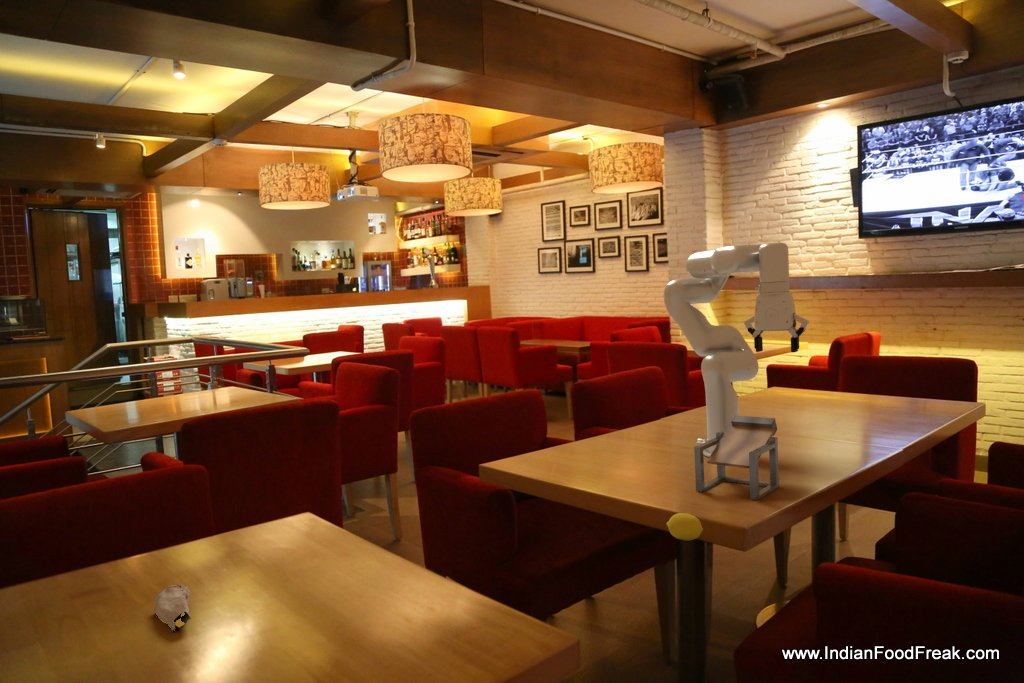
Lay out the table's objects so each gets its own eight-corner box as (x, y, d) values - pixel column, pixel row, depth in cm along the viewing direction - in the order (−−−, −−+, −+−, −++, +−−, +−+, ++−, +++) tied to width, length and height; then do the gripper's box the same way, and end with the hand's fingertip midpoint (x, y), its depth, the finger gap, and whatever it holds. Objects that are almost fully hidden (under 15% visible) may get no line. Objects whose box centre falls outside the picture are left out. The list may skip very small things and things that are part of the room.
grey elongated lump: (152, 610, 132) (150, 585, 131) (190, 602, 135) (189, 578, 134) (155, 641, 120) (153, 613, 119) (197, 631, 123) (195, 604, 122)
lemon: (660, 539, 152) (696, 545, 147) (661, 512, 152) (697, 518, 147) (672, 534, 156) (707, 540, 151) (672, 508, 156) (708, 514, 152)
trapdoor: (708, 467, 187) (705, 456, 186) (735, 426, 199) (733, 415, 198) (754, 473, 179) (751, 461, 178) (779, 429, 191) (776, 418, 190)
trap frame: (696, 491, 186) (694, 442, 185) (720, 478, 197) (718, 432, 196) (756, 500, 176) (755, 448, 175) (779, 486, 186) (777, 437, 185)
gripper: (738, 290, 199) (740, 352, 201) (802, 287, 188) (804, 353, 189) (749, 289, 205) (751, 350, 206) (812, 286, 194) (813, 350, 195)
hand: (776, 351), depth 198 cm, fingers open, 9 cm apart
